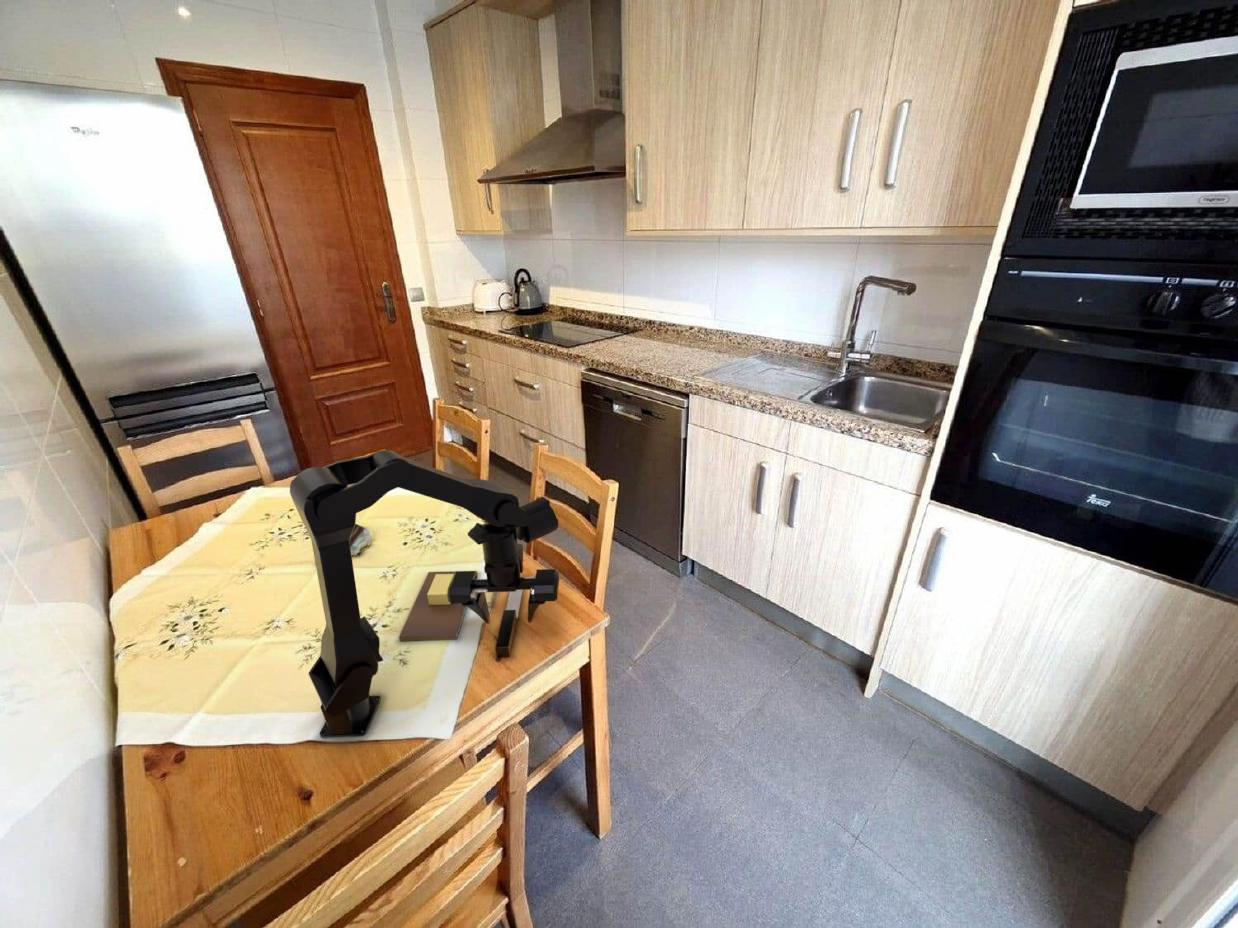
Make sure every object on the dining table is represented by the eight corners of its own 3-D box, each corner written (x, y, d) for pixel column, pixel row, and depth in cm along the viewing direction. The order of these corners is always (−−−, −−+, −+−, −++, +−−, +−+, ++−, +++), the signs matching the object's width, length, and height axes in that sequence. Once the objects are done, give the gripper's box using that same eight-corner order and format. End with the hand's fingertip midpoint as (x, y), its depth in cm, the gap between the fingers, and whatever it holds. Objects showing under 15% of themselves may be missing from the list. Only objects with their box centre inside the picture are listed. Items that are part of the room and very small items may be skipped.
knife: (510, 657, 86) (509, 647, 85) (495, 657, 86) (494, 647, 85) (525, 577, 105) (524, 568, 104) (513, 577, 105) (512, 568, 104)
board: (456, 639, 90) (455, 635, 89) (399, 641, 89) (398, 636, 89) (477, 574, 106) (476, 570, 105) (429, 575, 105) (428, 571, 105)
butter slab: (469, 602, 96) (469, 607, 97) (490, 602, 96) (490, 606, 97) (475, 582, 102) (476, 586, 102) (495, 581, 102) (496, 586, 102)
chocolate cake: (342, 573, 106) (368, 520, 109) (311, 561, 106) (338, 509, 109) (361, 575, 115) (385, 526, 118) (333, 564, 116) (358, 516, 119)
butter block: (450, 604, 96) (448, 594, 95) (429, 604, 96) (426, 594, 95) (457, 583, 101) (456, 573, 100) (437, 584, 101) (435, 574, 100)
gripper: (559, 525, 93) (562, 590, 100) (456, 526, 92) (467, 592, 99) (554, 562, 83) (559, 632, 90) (440, 565, 82) (453, 635, 89)
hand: (509, 621), depth 92 cm, fingers open, 7 cm apart
